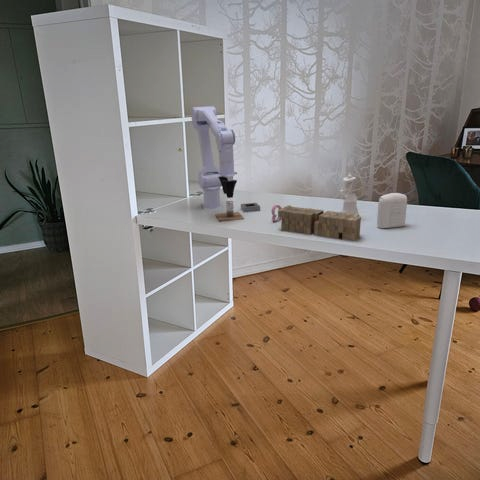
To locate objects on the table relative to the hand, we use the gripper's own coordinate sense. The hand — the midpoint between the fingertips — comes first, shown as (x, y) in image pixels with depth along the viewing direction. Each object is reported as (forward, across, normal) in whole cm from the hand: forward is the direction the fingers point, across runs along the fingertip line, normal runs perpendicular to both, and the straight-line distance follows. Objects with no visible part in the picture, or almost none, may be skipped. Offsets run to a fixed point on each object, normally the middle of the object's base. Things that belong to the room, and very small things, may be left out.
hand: (228, 195), depth 175 cm
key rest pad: (+10, 0, 0) cm, 10 cm away
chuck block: (+10, +9, -11) cm, 17 cm away
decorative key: (+10, -6, -23) cm, 26 cm away
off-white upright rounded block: (+10, -32, -54) cm, 64 cm away
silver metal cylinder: (+9, 0, 0) cm, 9 cm away
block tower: (+10, -30, -27) cm, 42 cm away
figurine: (+10, -17, -45) cm, 49 cm away
